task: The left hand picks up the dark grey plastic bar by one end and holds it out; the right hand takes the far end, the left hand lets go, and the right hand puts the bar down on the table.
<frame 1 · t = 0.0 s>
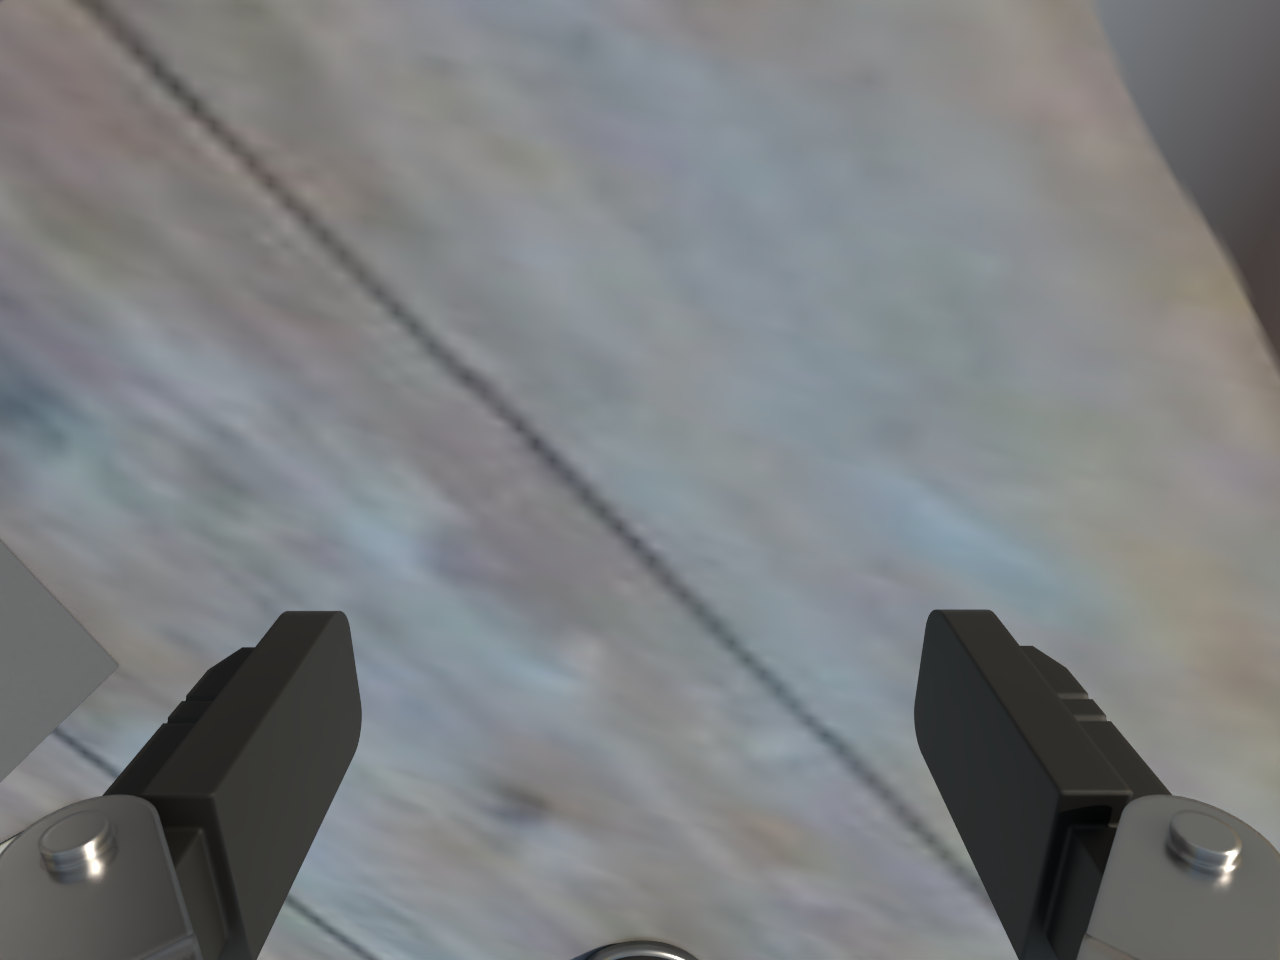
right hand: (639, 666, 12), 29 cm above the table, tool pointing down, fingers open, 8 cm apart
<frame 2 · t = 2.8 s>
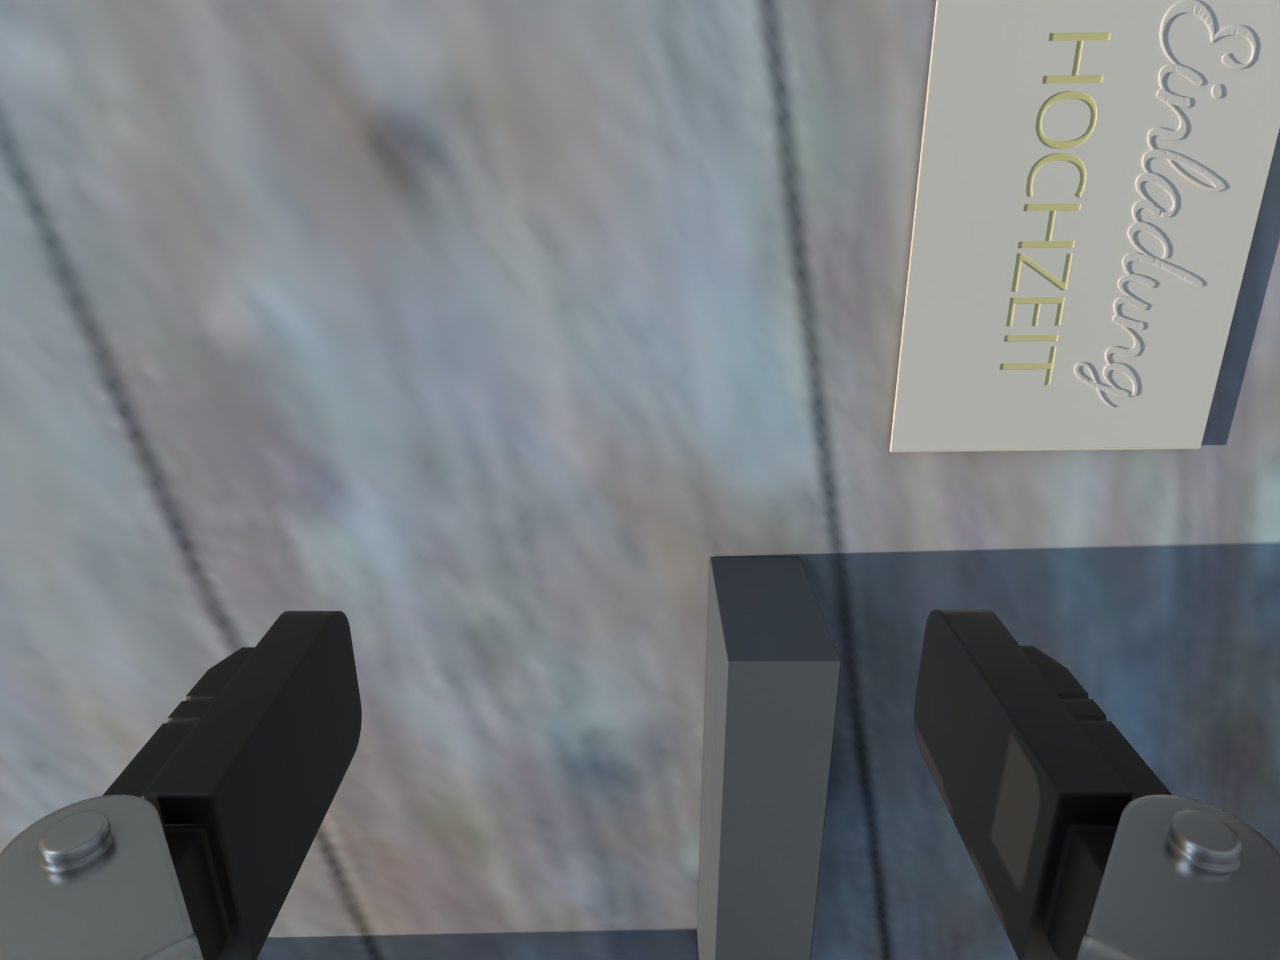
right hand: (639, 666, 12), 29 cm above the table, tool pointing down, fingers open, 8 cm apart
invitation card: (1081, 221, 37), on the table
bar: (742, 771, 48), on the table, touching left hand
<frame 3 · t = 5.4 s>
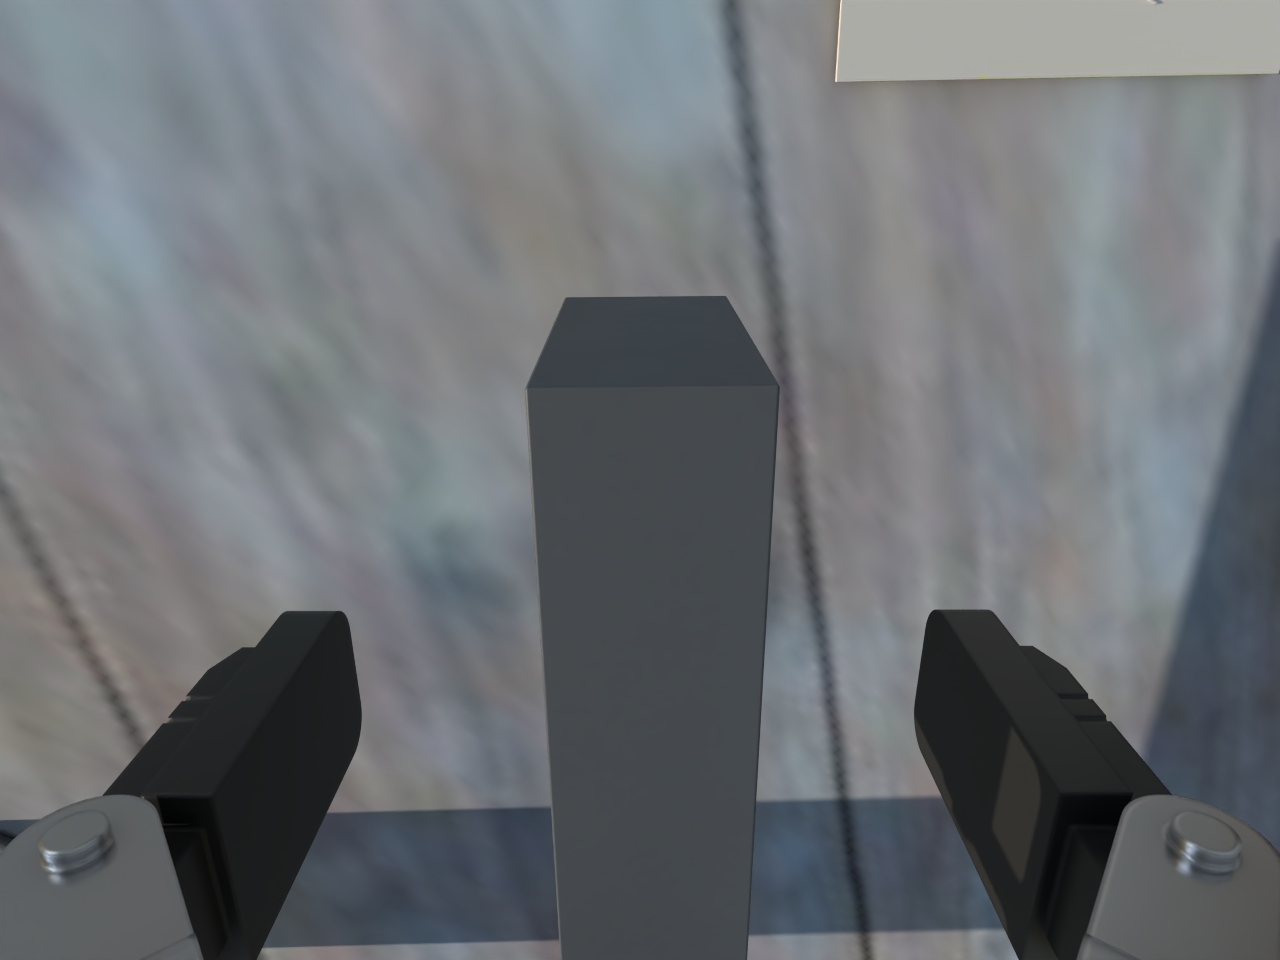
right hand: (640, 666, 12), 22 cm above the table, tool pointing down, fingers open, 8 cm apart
bar: (647, 693, 29), point 8 cm above the table, touching left hand
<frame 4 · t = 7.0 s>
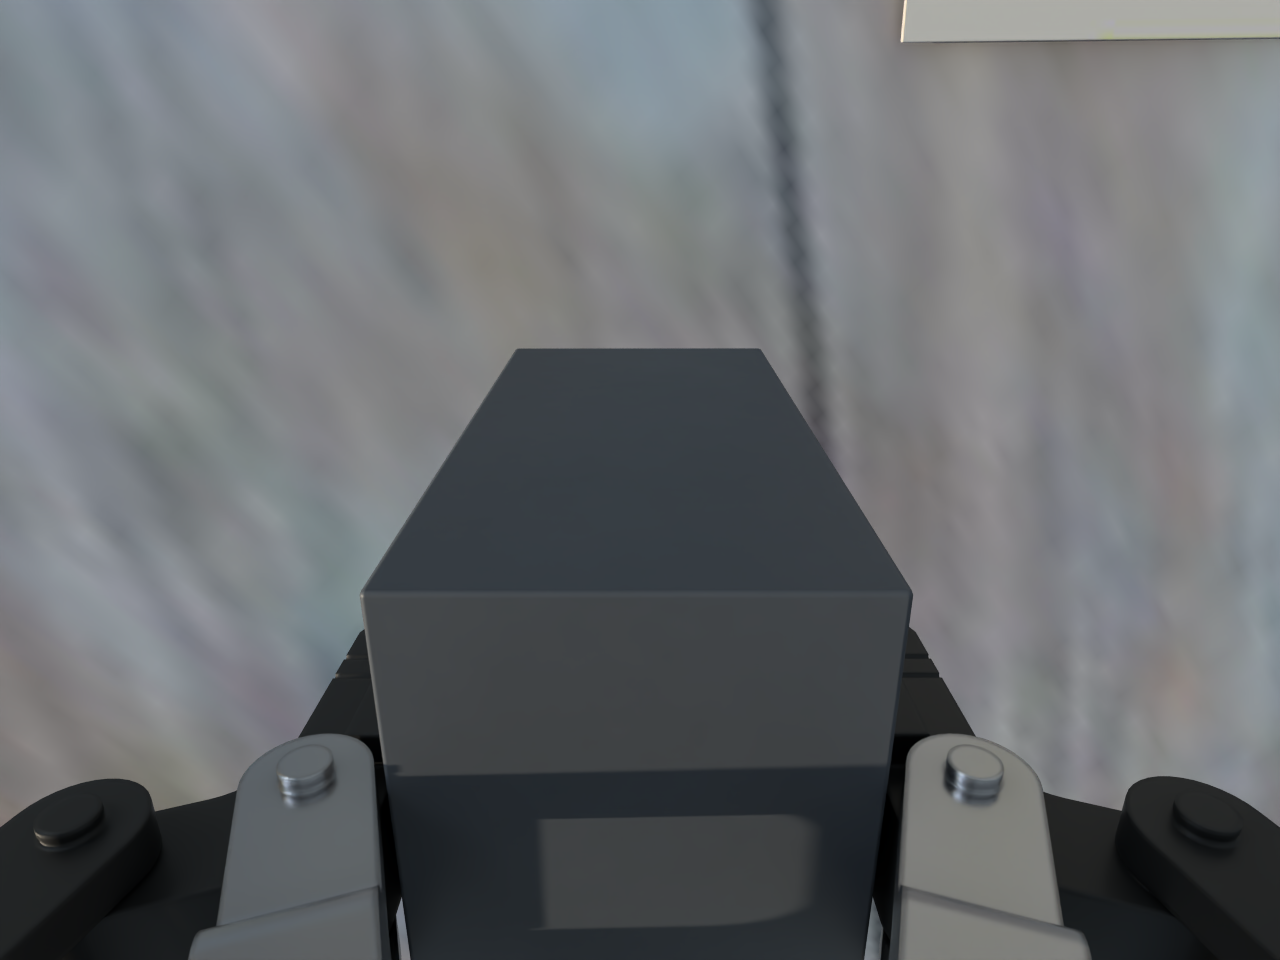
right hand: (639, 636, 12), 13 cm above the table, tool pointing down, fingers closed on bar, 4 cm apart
bar: (639, 893, 21), point 8 cm above the table, touching right hand, left hand
when the left hand's fingers open (12 cm above the table, at t = 8.1 s): bar stays where it is, held by the right hand.
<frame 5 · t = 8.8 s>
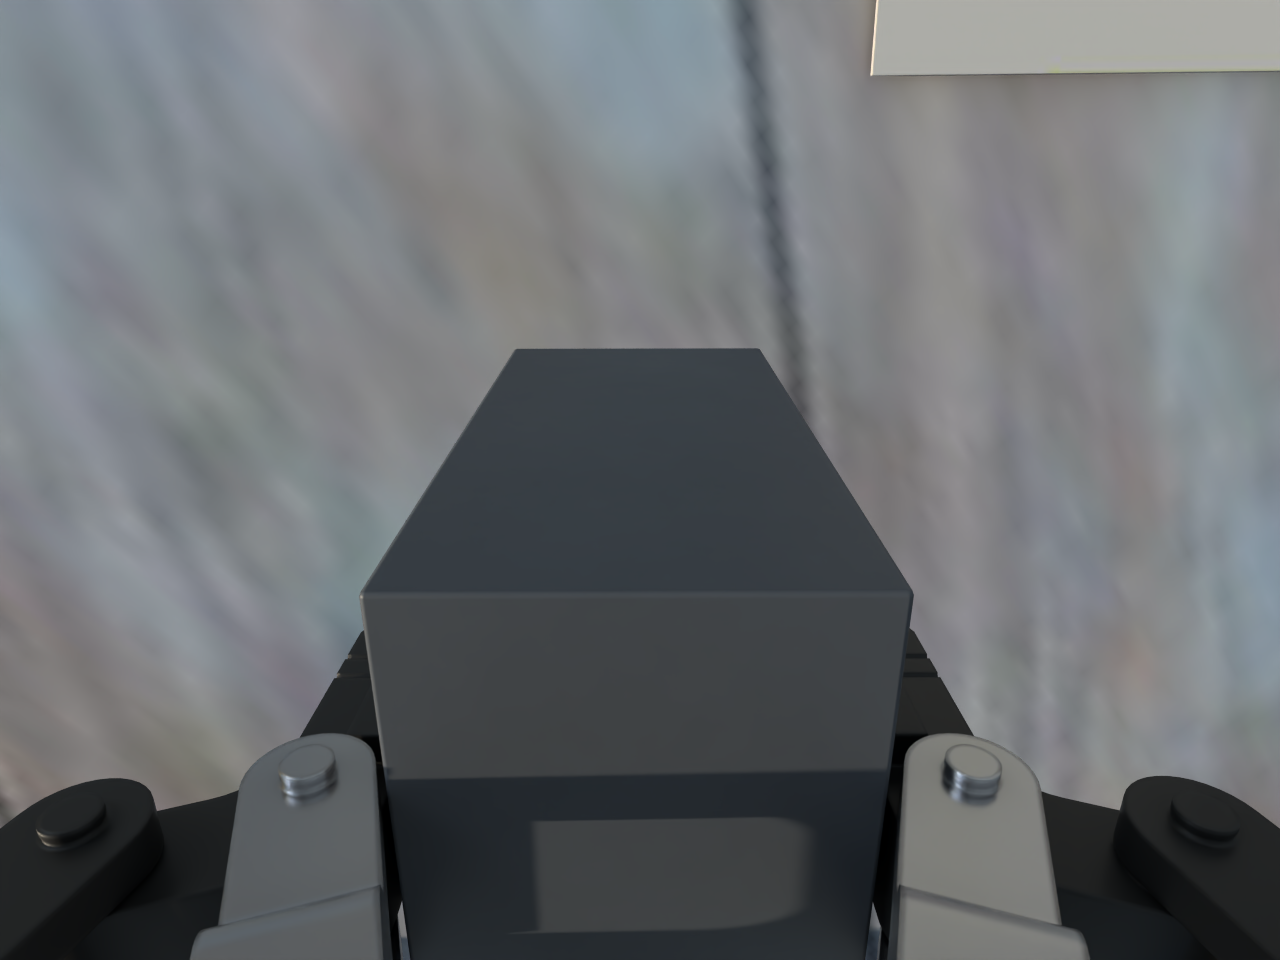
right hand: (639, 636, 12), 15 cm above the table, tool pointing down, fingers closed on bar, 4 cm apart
bar: (638, 893, 21), point 10 cm above the table, touching right hand
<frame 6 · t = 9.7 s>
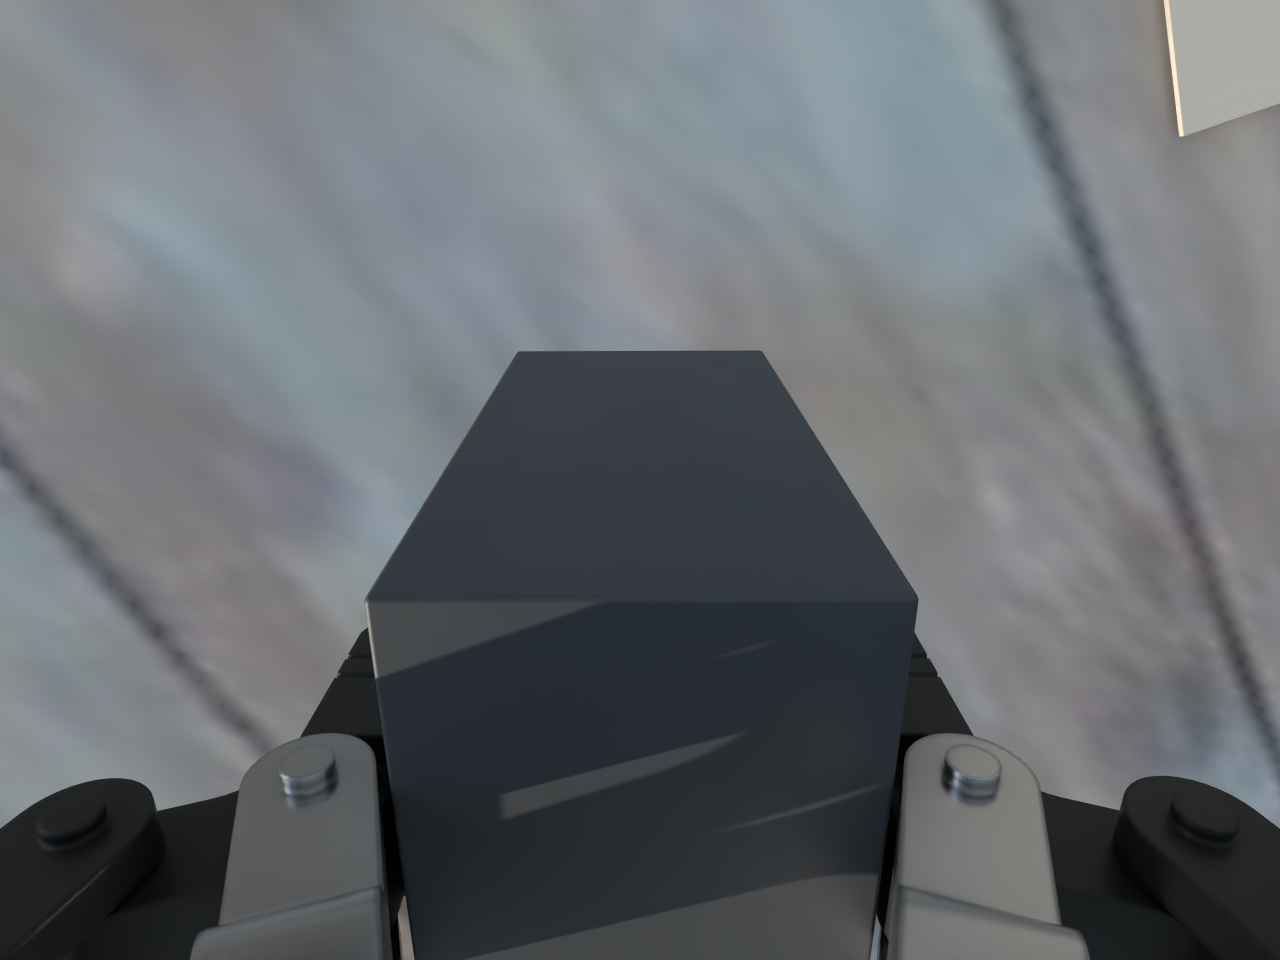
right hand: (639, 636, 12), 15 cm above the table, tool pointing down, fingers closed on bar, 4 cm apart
bar: (641, 895, 21), point 9 cm above the table, touching right hand
when the right hand's fingers open (7 cm above the table, at t = 12.7 s): bar drops 1 cm, on the table.
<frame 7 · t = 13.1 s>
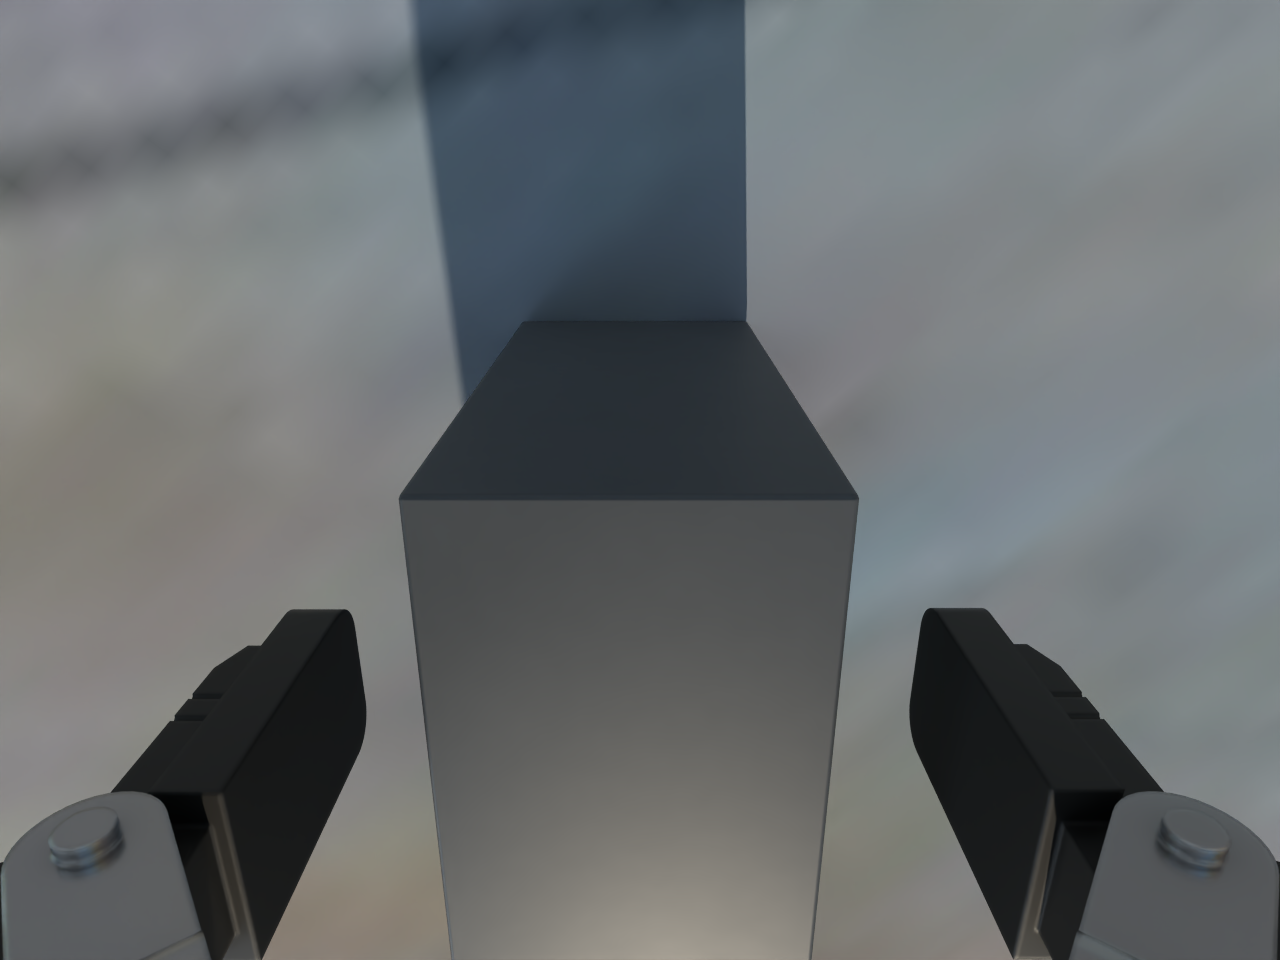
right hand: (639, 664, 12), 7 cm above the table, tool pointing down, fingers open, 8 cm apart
bar: (636, 837, 22), on the table
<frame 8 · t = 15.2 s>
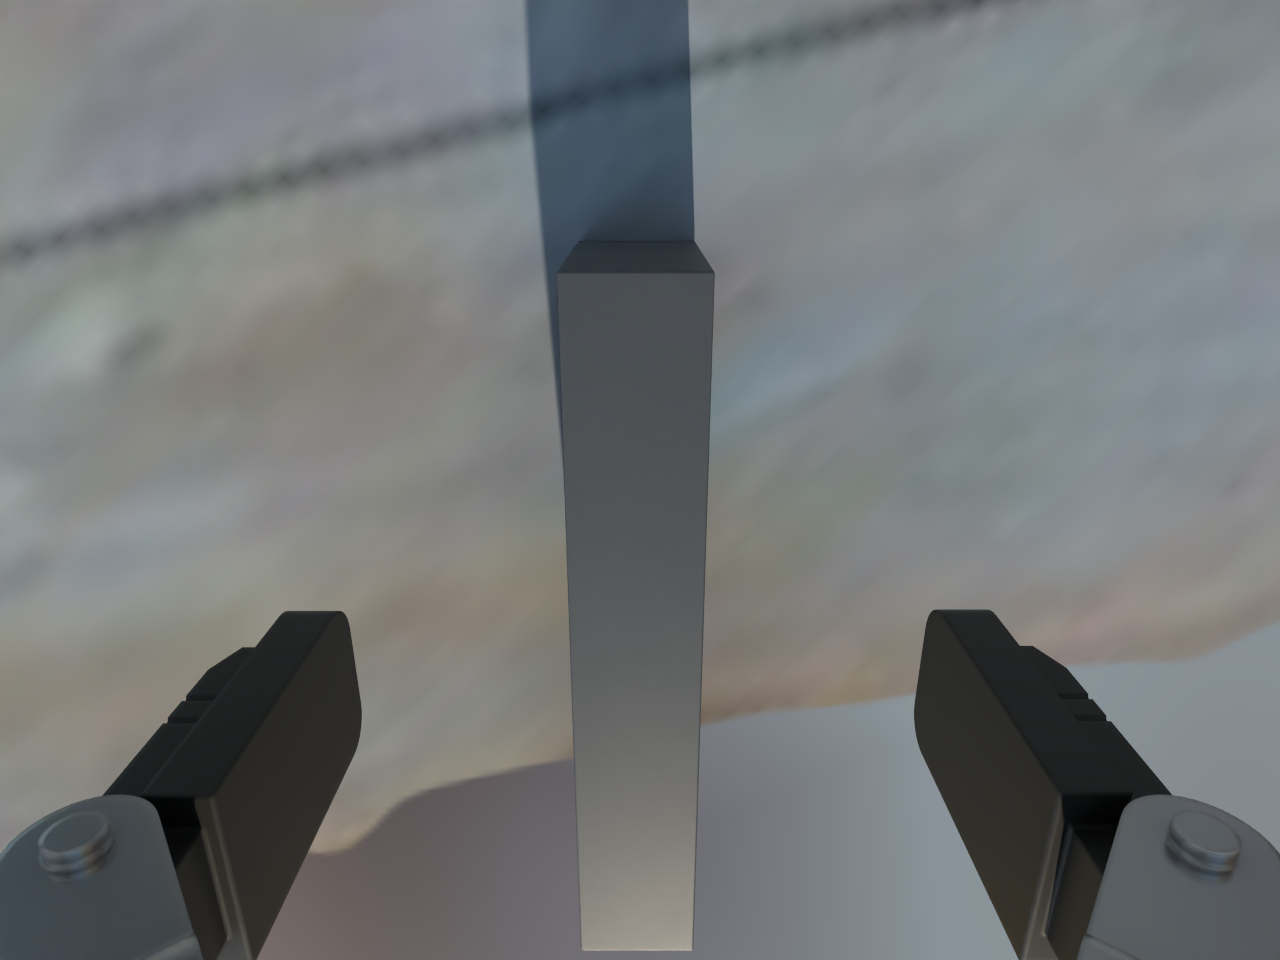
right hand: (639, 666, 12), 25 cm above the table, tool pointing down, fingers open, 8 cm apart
bar: (637, 550, 38), on the table
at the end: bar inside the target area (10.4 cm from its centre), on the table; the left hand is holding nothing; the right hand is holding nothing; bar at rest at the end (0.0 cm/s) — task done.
